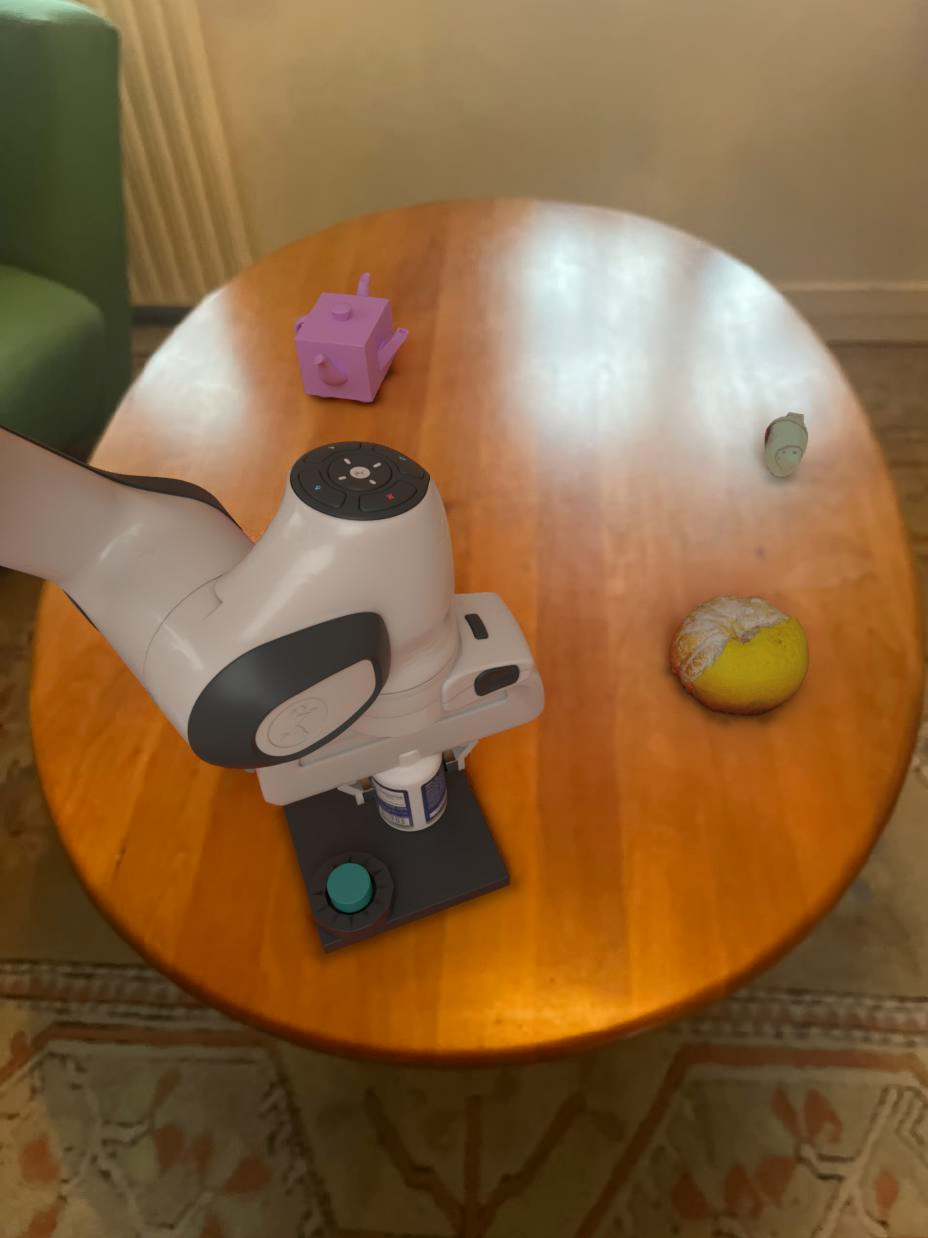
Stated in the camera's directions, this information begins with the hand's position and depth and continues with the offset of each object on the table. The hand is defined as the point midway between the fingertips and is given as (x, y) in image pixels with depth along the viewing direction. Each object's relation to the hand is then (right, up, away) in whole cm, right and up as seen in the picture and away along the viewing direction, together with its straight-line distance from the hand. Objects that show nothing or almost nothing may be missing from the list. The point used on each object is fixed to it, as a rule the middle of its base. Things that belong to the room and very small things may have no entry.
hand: (408, 779), depth 70 cm
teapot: (-8, +39, +40) cm, 56 cm away
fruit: (+27, +7, +11) cm, 30 cm away
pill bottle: (0, -2, +3) cm, 4 cm away
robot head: (+36, +26, +27) cm, 52 cm away
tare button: (-4, -7, -3) cm, 9 cm away
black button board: (-1, -6, +2) cm, 6 cm away
